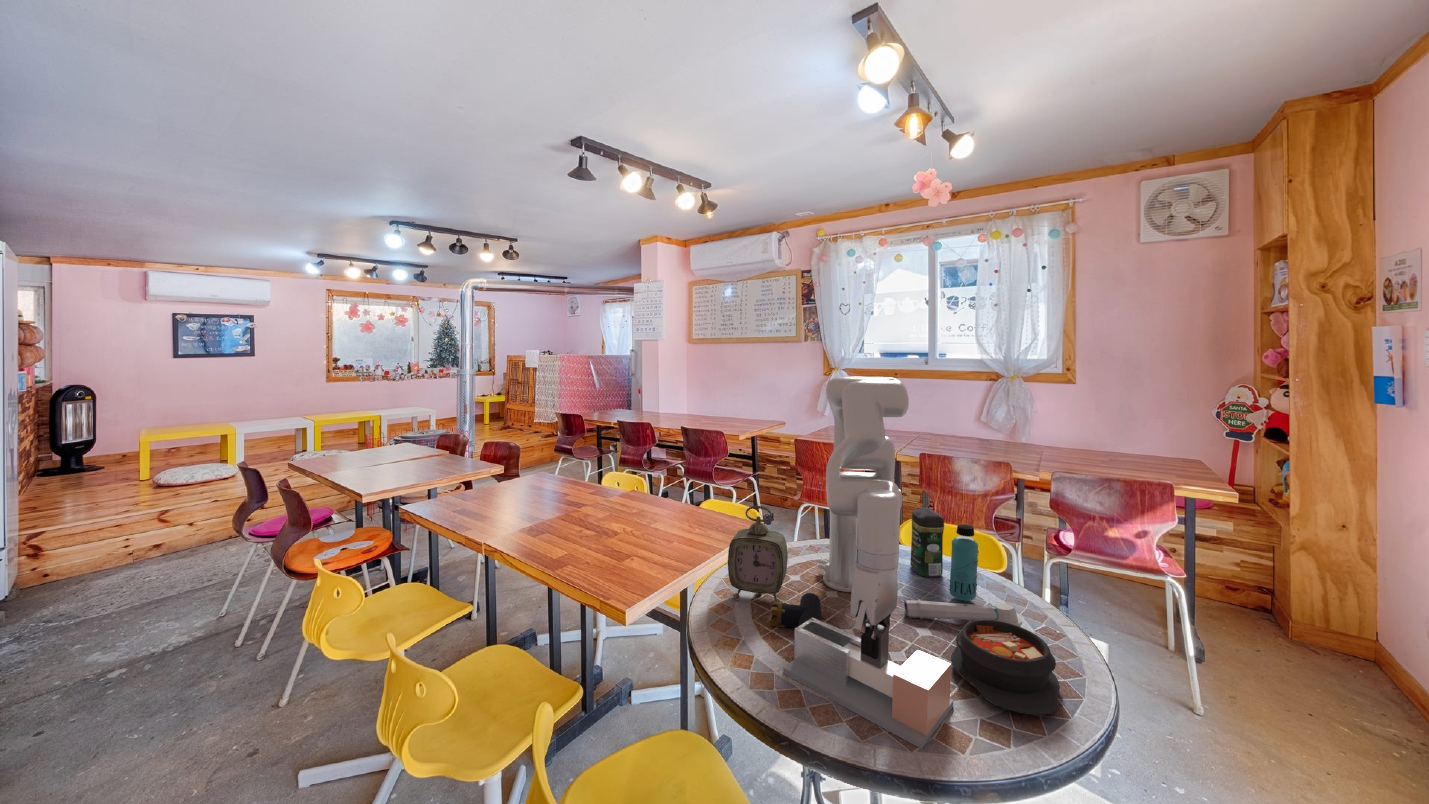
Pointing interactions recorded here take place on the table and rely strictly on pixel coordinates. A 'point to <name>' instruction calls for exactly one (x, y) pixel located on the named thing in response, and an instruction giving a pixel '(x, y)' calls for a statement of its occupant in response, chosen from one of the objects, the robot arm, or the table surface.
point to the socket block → (921, 691)
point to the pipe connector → (796, 611)
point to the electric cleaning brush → (961, 611)
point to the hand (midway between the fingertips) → (874, 650)
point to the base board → (860, 701)
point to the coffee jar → (927, 542)
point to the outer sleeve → (824, 649)
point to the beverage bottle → (964, 564)
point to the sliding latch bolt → (873, 664)
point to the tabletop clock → (757, 558)
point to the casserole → (1007, 666)
